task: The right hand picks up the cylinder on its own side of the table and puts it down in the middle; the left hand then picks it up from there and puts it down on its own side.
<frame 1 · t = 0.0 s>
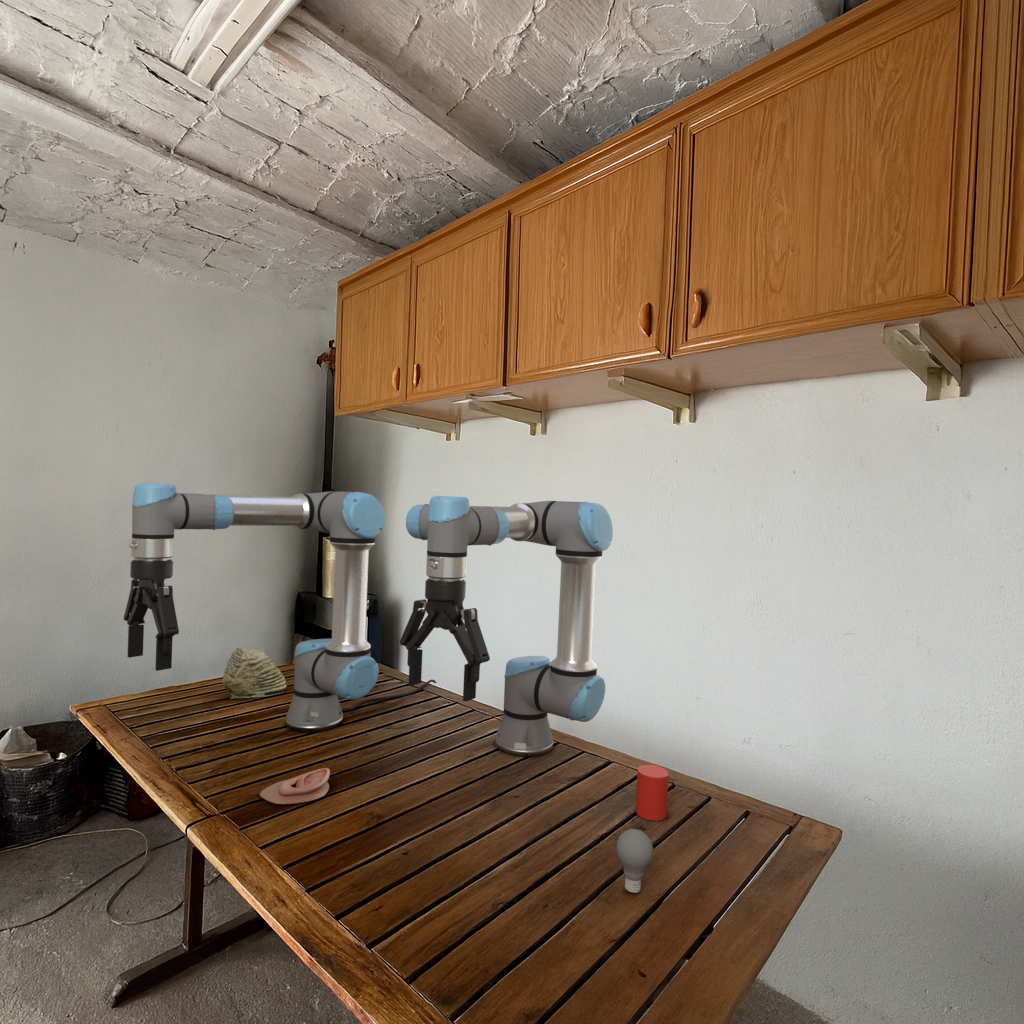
left hand: (148, 662, 129), 28 cm above the table, tool pointing down, fingers open, 13 cm apart
right hand: (441, 691, 119), 28 cm above the table, tool pointing down, fingers open, 13 cm apart
light bulb: (632, 891, 106), on the table
anatomical model: (295, 793, 135), on the table
fossil: (254, 694, 198), on the table
cylinder: (651, 813, 133), on the table
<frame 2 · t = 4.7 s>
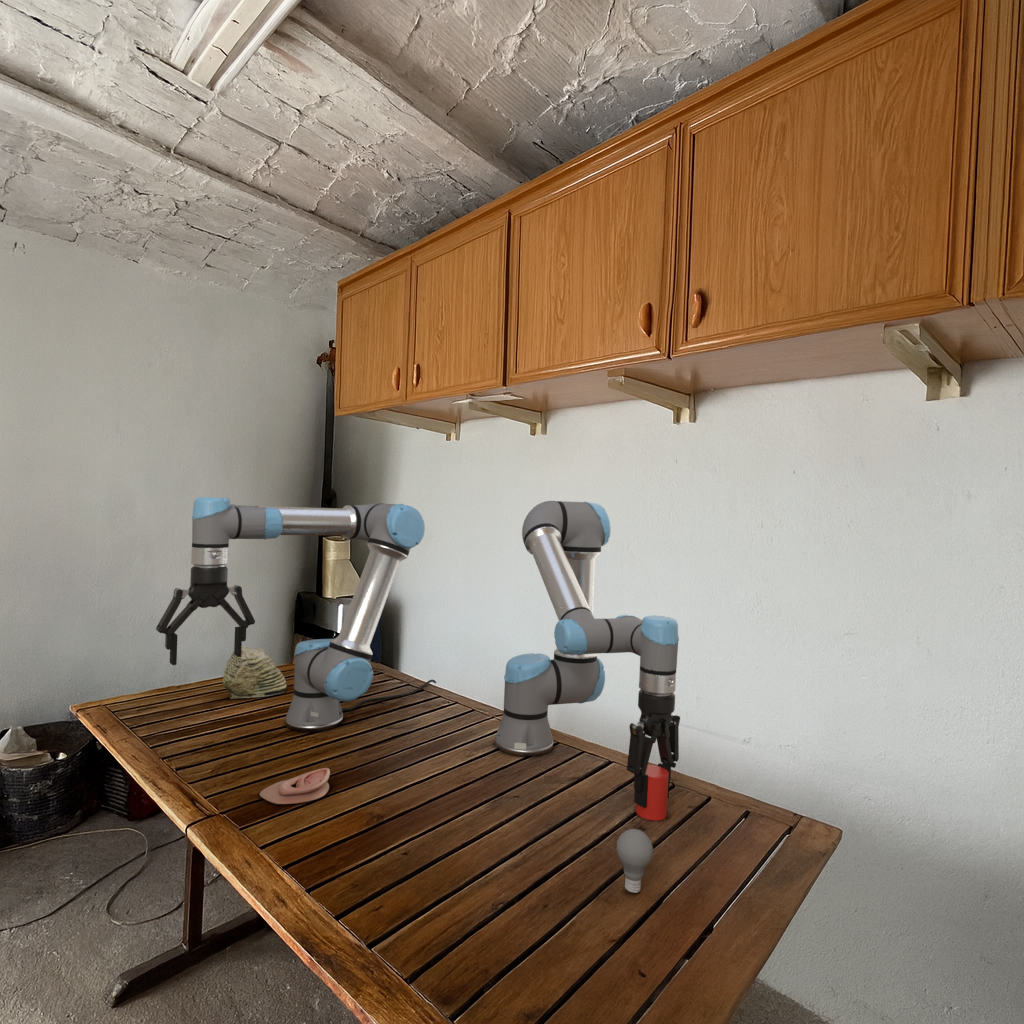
left hand: (206, 659, 143), 25 cm above the table, tool pointing down, fingers open, 13 cm apart
right hand: (651, 800, 133), 3 cm above the table, tool pointing down, fingers closed on cylinder, 6 cm apart
cylinder: (651, 812, 133), on the table, touching right hand
everything else where it was.
when the right hand's fingers open (5 cm above the table, at t = 10.8 s): cylinder drops 2 cm, on the table.
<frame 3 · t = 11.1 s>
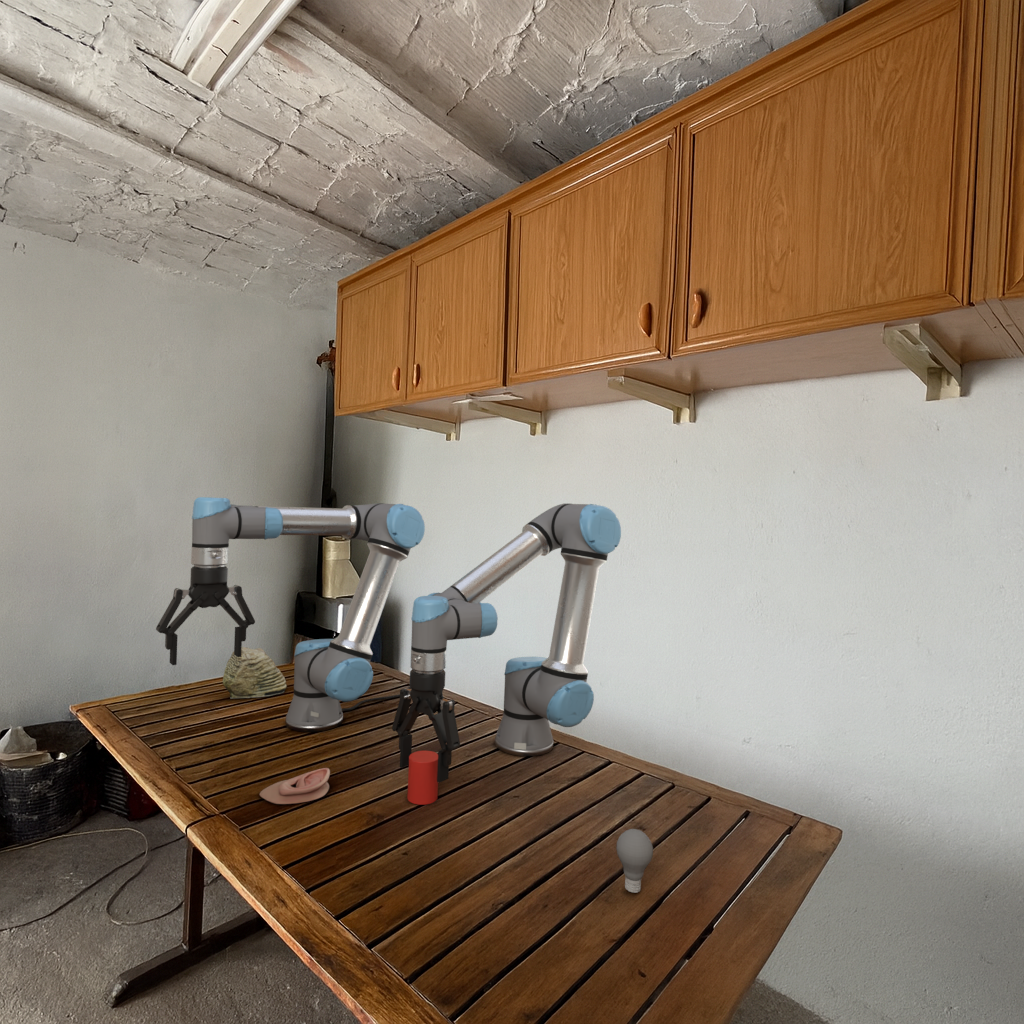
left hand: (206, 659, 143), 25 cm above the table, tool pointing down, fingers open, 13 cm apart
right hand: (423, 772, 135), 5 cm above the table, tool pointing down, fingers open, 10 cm apart
cylinder: (422, 797, 135), on the table
everything else where it was.
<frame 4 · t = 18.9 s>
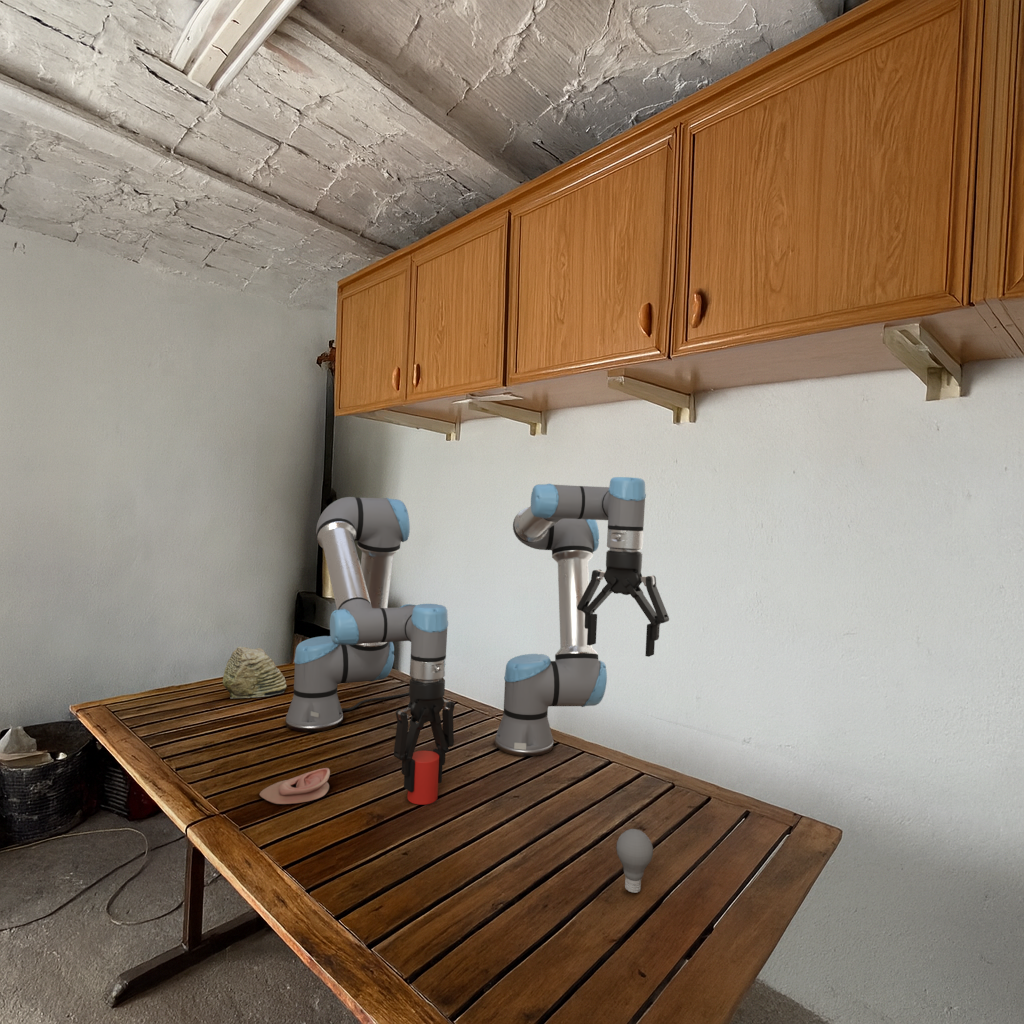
left hand: (423, 784, 135), 3 cm above the table, tool pointing down, fingers closed on cylinder, 6 cm apart
right hand: (619, 649, 135), 34 cm above the table, tool pointing down, fingers open, 13 cm apart
cylinder: (422, 797, 135), on the table, touching left hand
everything else where it was.
when the left hand's fingers open (5 cm above the table, at t = 25.7 s): cylinder drops 2 cm, on the table.
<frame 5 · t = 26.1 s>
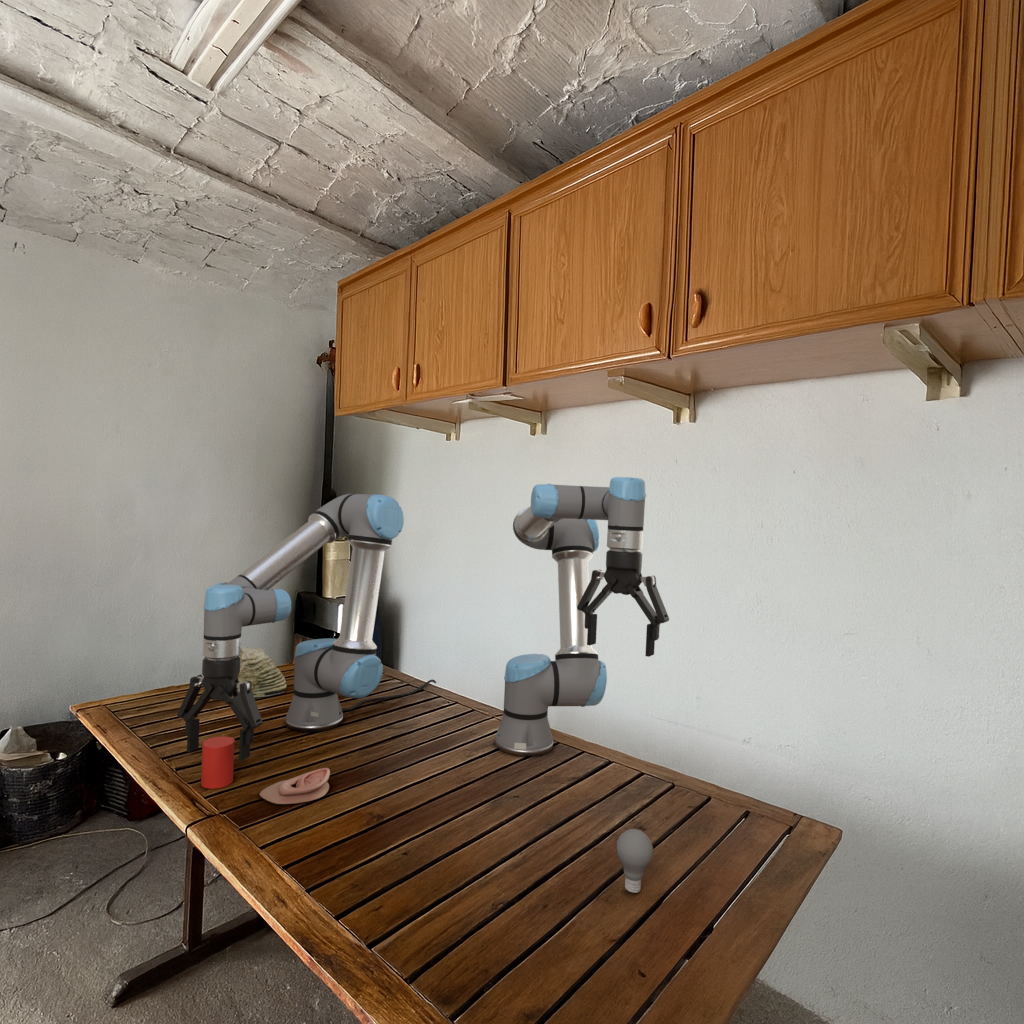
left hand: (218, 754, 138), 6 cm above the table, tool pointing down, fingers open, 12 cm apart
right hand: (619, 649, 135), 34 cm above the table, tool pointing down, fingers open, 13 cm apart
cylinder: (217, 782, 138), on the table
everything else where it was.
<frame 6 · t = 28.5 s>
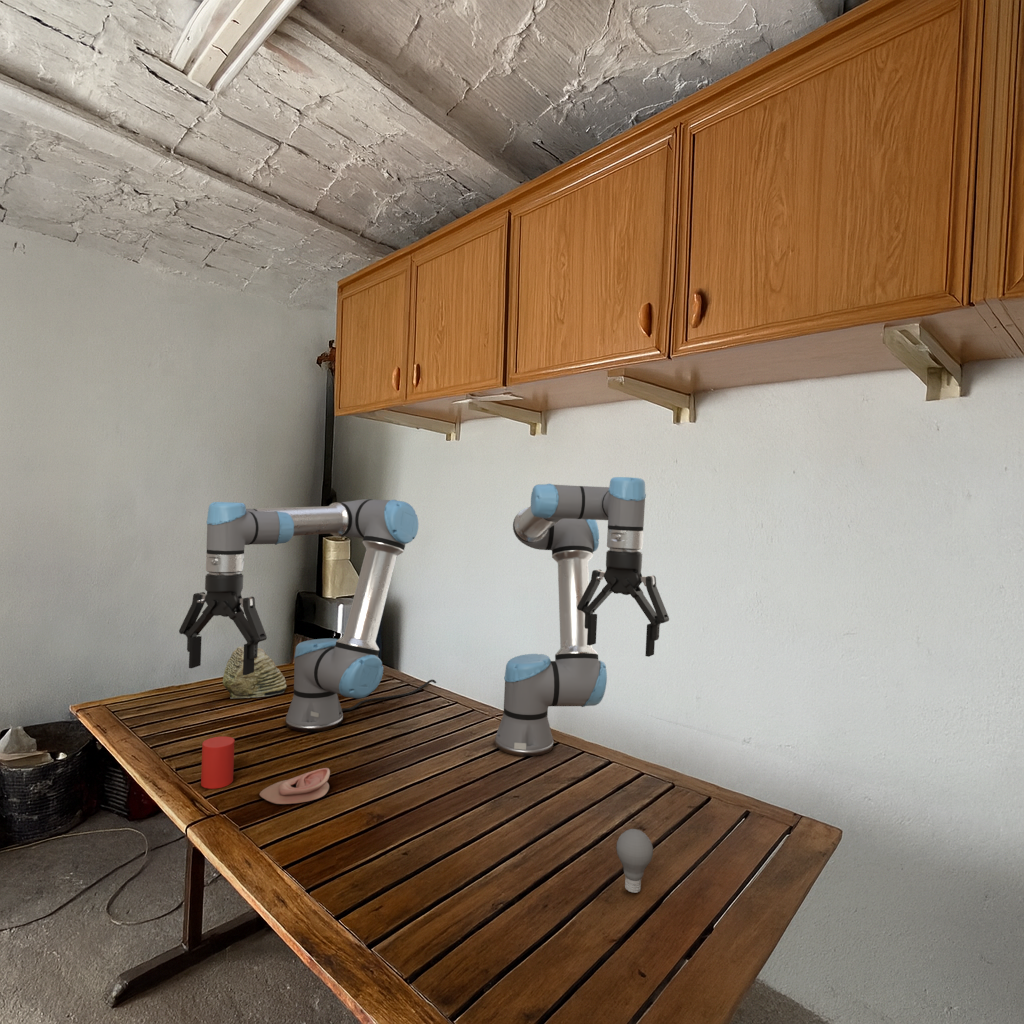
left hand: (221, 670, 138), 25 cm above the table, tool pointing down, fingers open, 13 cm apart
right hand: (619, 649, 135), 34 cm above the table, tool pointing down, fingers open, 13 cm apart
nothing on the table moved.
at the end: cylinder inside the target area (0.0 cm from its centre), on the table; cylinder tilted 0°; the two hands never held the cylinder at the same time; the left hand is holding nothing; the right hand is holding nothing; cylinder at rest at the end (0.0 cm/s) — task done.
